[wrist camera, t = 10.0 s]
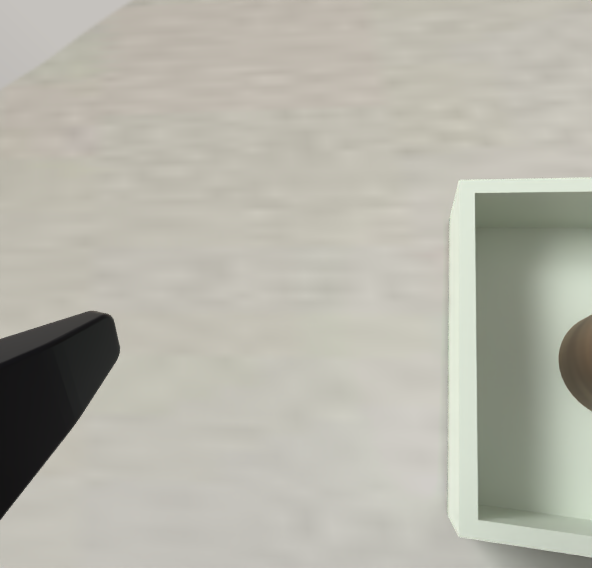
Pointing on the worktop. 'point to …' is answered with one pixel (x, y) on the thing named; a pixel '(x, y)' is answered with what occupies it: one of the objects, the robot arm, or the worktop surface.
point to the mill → (578, 361)
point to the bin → (518, 363)
